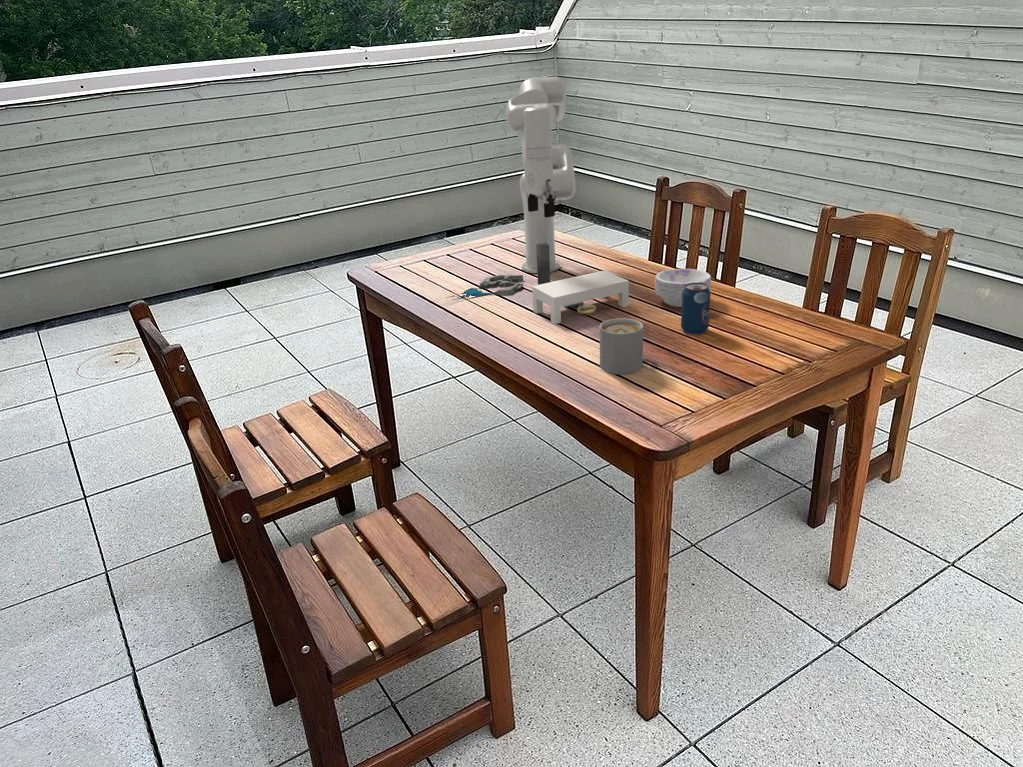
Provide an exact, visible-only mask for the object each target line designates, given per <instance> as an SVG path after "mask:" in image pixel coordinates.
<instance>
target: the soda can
mask: <svg viewBox="0 0 1023 767" xmlns="http://www.w3.org/2000/svg"><path fill="white" fill-rule="evenodd" d="M710 307H711V290H710V291H709V288H708V285H707V284H704V283H689V284H686V285H685V288H684V290H683V292H682V307H681V316H680V317H681V318H680V327H681V329H682V332H684V333H685V334H688V335H694V336H697V335H698V336H699V335H703V334H705V333H706V332H707V331H708V329H709V325H710V309H711V308H710Z"/></svg>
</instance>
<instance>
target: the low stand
mask: <svg viewBox="0 0 1023 767" xmlns="http://www.w3.org/2000/svg"><path fill="white" fill-rule="evenodd" d="M629 284H630V281H629V280H628V279H627V278H623V277H622V276H620V275H616V274H614V273H612V272H609V271H607V270H600V271H596V272H592V273H587V274H583V275H577V276H573V277H568V278H564V279H559V280H554V281H550V282H549V283H545V284H540V285H538V284H537V285H532V286H531V288H532V289H531V290H532V291H531V292H532V312H533V313H535V314H541V313H544V304H545V305H547V306H549V307H550V322H551V324H553V325H558V324H562V314H561V313H562V310H561V308H562V307H564V306H567V305H571V304H575V303H579V302H583V303H584V302H588V301H592V300H595V299H600V298H603V299H605V298H609V296H614V295H617V294H618V306H619V307H620V308H627V307H629V305H630V304H629V296H630V295H629V290H630V289H629V288H630V285H629ZM543 303H544V304H543Z"/></svg>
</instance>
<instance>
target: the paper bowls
mask: <svg viewBox="0 0 1023 767" xmlns="http://www.w3.org/2000/svg"><path fill="white" fill-rule="evenodd" d="M654 280H655V282H654V293H655V294H656V295H657V296H659V297H661V299H662V301H663V302H664V303H665V304H667V305H668V306H671V307H674V308H675V307H676V308H682V292H683V290H684V288H685V285H686V284H689V283H704V284H707V285H708V288H709V291H710V292H711V287H712V286H711V283H712V276H711V275H710V273H708V272H706V271H704V270H701V269H694V268H672V269H666V270H662V271H660V272H658V273H657V274H656V275H655V278H654Z"/></svg>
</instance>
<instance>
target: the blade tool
mask: <svg viewBox="0 0 1023 767" xmlns="http://www.w3.org/2000/svg"><path fill="white" fill-rule="evenodd" d="M536 252H537V273H536V274H537V285H540V284H545V283H549V282H551V272H550V259H549V244H546V243H542V244H537V245H536ZM577 305H578V306H580V305H584V302H579V303H575V304H571V305H567V306H563V307H564V308H570V307H574V306H577Z"/></svg>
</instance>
